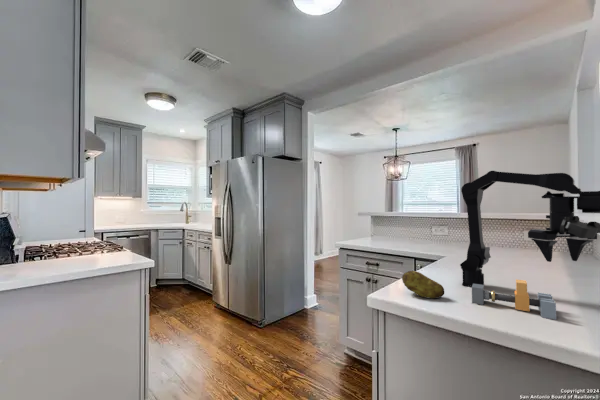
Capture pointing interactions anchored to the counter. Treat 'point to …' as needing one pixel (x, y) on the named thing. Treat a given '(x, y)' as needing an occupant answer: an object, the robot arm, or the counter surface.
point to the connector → (479, 294)
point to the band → (493, 296)
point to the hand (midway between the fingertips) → (561, 261)
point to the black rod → (512, 299)
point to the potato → (422, 285)
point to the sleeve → (521, 296)
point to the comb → (547, 306)
